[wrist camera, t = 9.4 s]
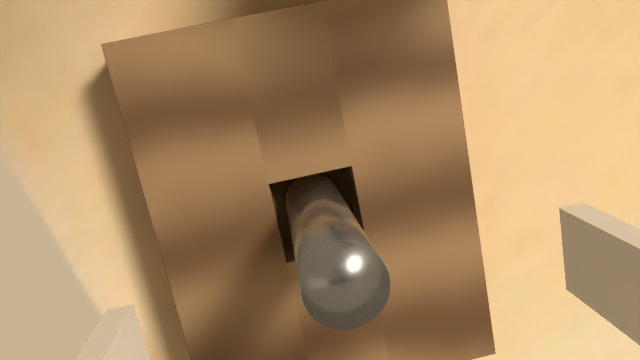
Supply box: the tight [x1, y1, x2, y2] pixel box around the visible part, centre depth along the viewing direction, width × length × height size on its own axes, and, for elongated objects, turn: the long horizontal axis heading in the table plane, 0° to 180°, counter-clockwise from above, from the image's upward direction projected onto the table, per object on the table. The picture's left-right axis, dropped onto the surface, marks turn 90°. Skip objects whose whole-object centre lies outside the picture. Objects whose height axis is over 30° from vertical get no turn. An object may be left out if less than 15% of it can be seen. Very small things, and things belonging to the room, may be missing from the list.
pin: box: [286, 174, 390, 330], centre depth 23 cm, size 3×3×12 cm
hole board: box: [101, 0, 495, 360], centre depth 27 cm, size 20×16×3 cm
